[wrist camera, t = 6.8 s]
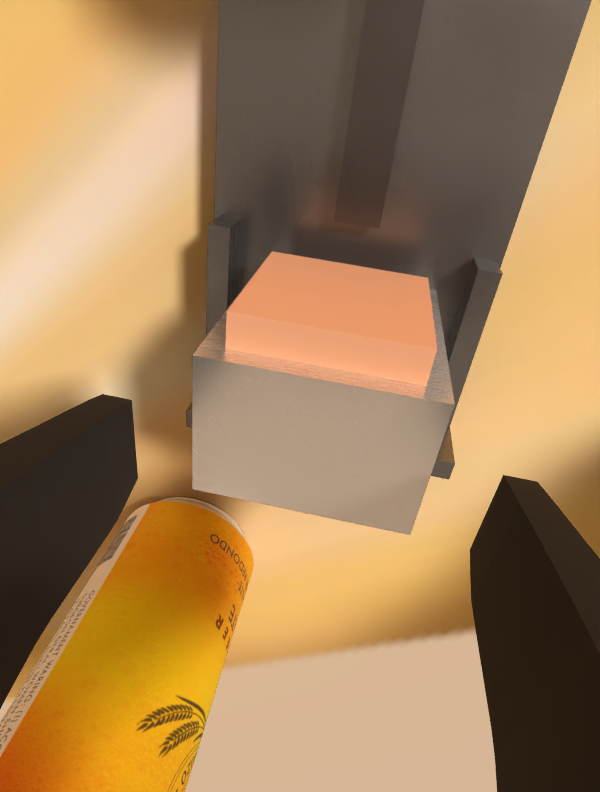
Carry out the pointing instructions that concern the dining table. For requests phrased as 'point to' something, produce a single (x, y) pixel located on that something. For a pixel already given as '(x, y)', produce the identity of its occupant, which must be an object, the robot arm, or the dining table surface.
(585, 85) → the dining table surface
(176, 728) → the beer can
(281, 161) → the rail
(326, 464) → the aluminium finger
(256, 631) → the dining table surface
